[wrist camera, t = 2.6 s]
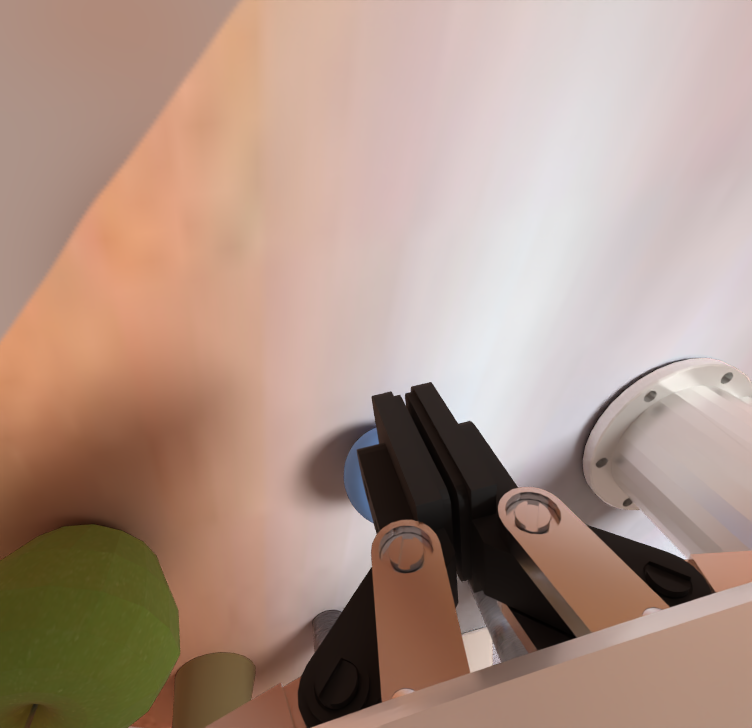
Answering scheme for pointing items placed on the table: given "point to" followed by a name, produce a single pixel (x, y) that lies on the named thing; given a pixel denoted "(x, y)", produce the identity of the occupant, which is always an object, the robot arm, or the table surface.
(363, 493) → the ball
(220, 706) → the olive pawn shape
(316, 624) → the post
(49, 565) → the apple
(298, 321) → the table surface
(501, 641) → the post
